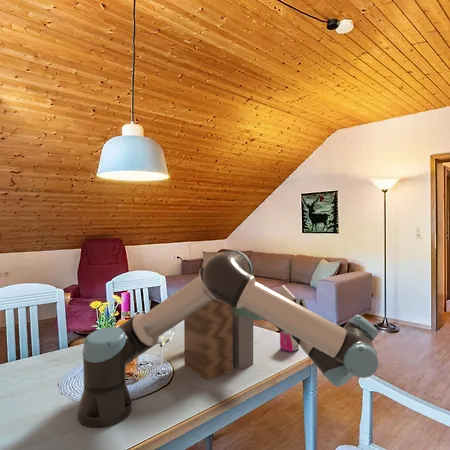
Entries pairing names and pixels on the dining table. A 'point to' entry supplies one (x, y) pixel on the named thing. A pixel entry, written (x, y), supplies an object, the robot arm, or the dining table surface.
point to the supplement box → (288, 342)
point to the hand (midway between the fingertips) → (267, 290)
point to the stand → (209, 340)
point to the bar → (247, 313)
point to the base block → (242, 340)
